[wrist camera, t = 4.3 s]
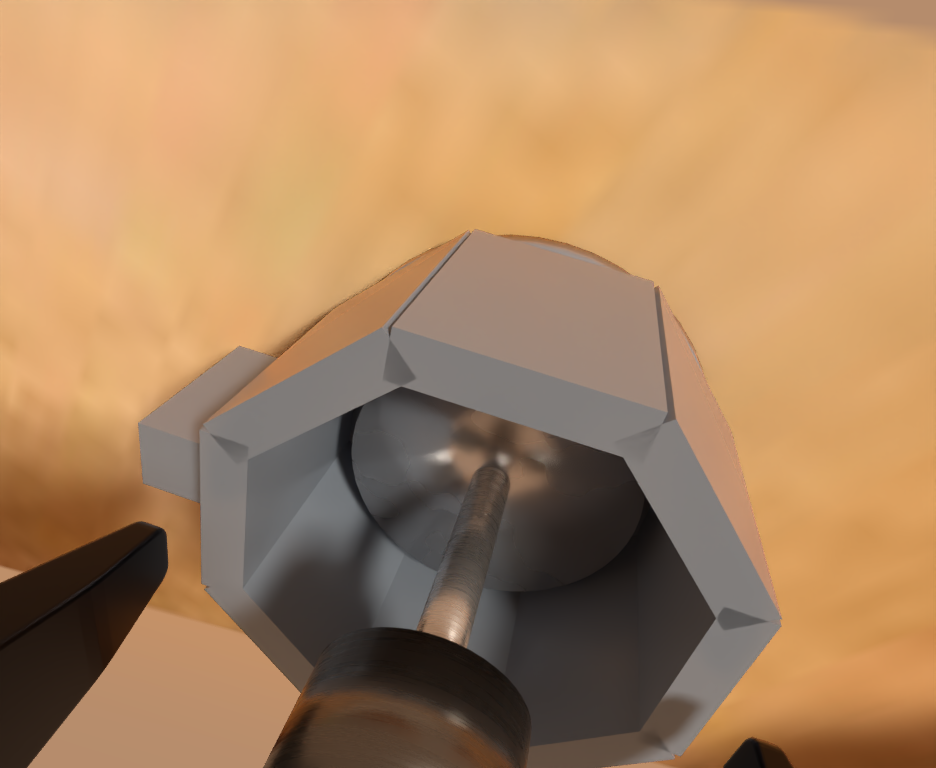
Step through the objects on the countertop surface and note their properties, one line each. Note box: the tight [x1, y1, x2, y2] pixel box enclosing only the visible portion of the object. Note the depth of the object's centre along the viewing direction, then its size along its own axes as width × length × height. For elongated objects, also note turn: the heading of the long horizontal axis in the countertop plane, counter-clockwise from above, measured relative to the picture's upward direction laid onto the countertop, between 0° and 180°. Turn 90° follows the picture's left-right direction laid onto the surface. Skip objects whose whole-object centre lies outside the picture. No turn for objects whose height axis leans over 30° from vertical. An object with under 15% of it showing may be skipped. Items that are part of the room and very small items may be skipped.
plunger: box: [263, 386, 645, 768], centre depth 10 cm, size 6×6×8 cm
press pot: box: [138, 229, 782, 768], centre depth 12 cm, size 10×9×6 cm
